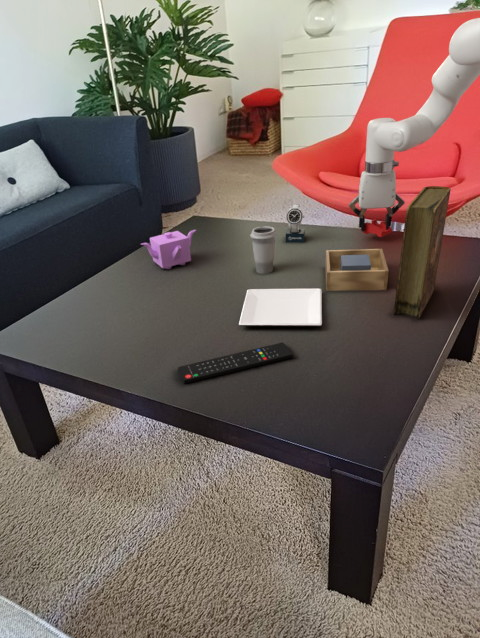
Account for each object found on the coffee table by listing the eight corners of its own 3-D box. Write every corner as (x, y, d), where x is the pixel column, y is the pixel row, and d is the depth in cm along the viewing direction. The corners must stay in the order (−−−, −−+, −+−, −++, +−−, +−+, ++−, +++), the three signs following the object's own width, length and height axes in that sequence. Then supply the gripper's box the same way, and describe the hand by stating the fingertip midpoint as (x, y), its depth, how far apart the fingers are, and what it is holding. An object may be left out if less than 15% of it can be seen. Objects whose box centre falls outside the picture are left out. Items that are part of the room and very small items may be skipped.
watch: (284, 245, 162) (284, 210, 156) (287, 236, 169) (287, 202, 163) (303, 245, 161) (303, 210, 155) (305, 236, 167) (305, 201, 161)
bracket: (363, 233, 159) (363, 223, 157) (373, 228, 161) (374, 219, 159) (381, 237, 154) (381, 226, 152) (391, 232, 156) (392, 222, 154)
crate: (380, 268, 142) (382, 248, 139) (386, 291, 130) (388, 271, 127) (325, 269, 145) (325, 250, 142) (326, 292, 133) (327, 272, 130)
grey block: (367, 272, 139) (368, 254, 137) (369, 283, 134) (371, 265, 131) (339, 272, 141) (340, 255, 138) (341, 283, 135) (342, 265, 132)
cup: (275, 265, 151) (274, 224, 144) (279, 274, 145) (278, 232, 138) (250, 267, 151) (248, 227, 144) (253, 277, 145) (251, 235, 139)
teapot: (153, 279, 150) (148, 247, 145) (138, 265, 161) (132, 234, 155) (209, 264, 156) (206, 232, 151) (190, 251, 166) (187, 221, 161)
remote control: (293, 359, 109) (293, 354, 108) (182, 386, 105) (181, 381, 104) (282, 347, 114) (282, 342, 113) (176, 372, 109) (175, 367, 109)
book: (411, 287, 131) (425, 185, 117) (434, 291, 128) (452, 186, 114) (393, 317, 120) (406, 207, 106) (418, 321, 117) (435, 209, 103)
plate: (247, 295, 136) (247, 288, 135) (321, 295, 132) (321, 287, 131) (238, 331, 121) (238, 323, 120) (321, 332, 117) (321, 324, 116)
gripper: (409, 161, 149) (403, 223, 159) (346, 166, 152) (344, 226, 162) (413, 167, 143) (406, 231, 152) (347, 172, 146) (345, 235, 156)
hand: (374, 228), depth 157 cm, fingers closed on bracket, 6 cm apart
